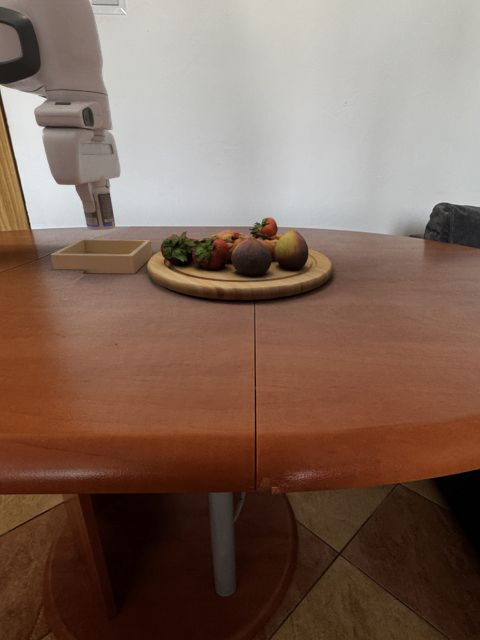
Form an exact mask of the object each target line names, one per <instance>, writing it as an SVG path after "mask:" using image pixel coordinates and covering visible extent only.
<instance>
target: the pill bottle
mask: <svg viewBox="0 0 480 640" xmlns="http://www.w3.org/2000/svg"><path fill="white" fill-rule="evenodd" d="M91 184H92V190H91V192H92V195H93V198H94V200H96V202H97V208H98V210H97V211H96V212H94V213H86V212H85V211H84V210H83V214H84V218H85V224H86V227H87V229H88V230H91V231H104V230H105V231H106V230H112V229H114V228H115V227H116V221H115V220H116V219H115V214H114V209H113V208H114V207H113V202H112V197H111V191H109V189H108V188H106V187H105V185H106V179H105V176H102V177H101V180H100V181H97V182H91Z"/></svg>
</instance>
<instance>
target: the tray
mask: <svg viewBox="0 0 480 640" xmlns="http://www.w3.org/2000/svg"><path fill="white" fill-rule="evenodd" d="M152 256H154V254H153V247H152V240H151V239H112V238H111V239H110V238H109V239H106V238H105V239H102V238H101V239H100V238H99V239H97V238H93V239H92V238H81V239H79V240H76V241H74V242H73V243H71V244H69V245H67V246H65V247H63V248H61V249H59V250H57V251H55V252H53V253H50V258H51V263H52V267H53V270H67V271H68V270H70V271H71V270H75V271H76V270H78V271H79V270H80V271H81V270H82V271H83V272H82V274H120V275H121V274H124V275H129V274H130V275H135V274H136V273H137V272H138V271H139V270H140V269H141V268H142V267H143V266H144V265H145V264H146V263H148V261H149V260H150V259H151V257H152Z"/></svg>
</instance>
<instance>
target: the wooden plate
mask: <svg viewBox="0 0 480 640" xmlns="http://www.w3.org/2000/svg"><path fill="white" fill-rule="evenodd" d="M252 225H253V227H252V228H248V230H249V231H250V233H249V235H247V234H245V233H242V232H240V231H235V230H232V229H225V230H222V231H219V232H218V233H214V234H212V235H210V236H208V237H204V238H201V239H197V238H190V237H188V236H187V233H188V230H186V231H183V232H182V233H181V234H180V235H178V234H174V233H173V234H171V236H168V237H166V238H165V239H163V241H162V243H161V244H160V251H159V252H156V253H155V254H153V256H152V257H151V258H150V259H149V260H148V261H147V264H146V270H147V274H148V276H149V277H150V278H151V279H152V280H153V281H154V283H156V284H158V285H159V286H161V287H163V288H166V289H168V290H170V291H173V292H177V293H180V294H184V295H188V296H192V297H198V298H204V299H205V298H206V299H214V300H228V301H230V300H231V301H232V300H233V301H234V300H235V301H236V300H237V301H254V300H255V301H256V300H268V299H278V298H284V297H289V296H293V295H299V294H302V293H305V292H309V291H312V290H314V289H316V288H319V287H321V286H322V285H324V284H325V283H326V282H327V281H328V280H329V279H330V278H331V276H332V274H333V270H334V266H333V263H332V262H331V260H330V259H329V257H327V256H326V255H324V254H323V253H321V252H319V251H317V250H314V249H312V248H309V246H308V242H307V241H306V240H305V238H304V237H303V236H302V234H300V233H299V232H298V231H297V230H295V229H294V228H292V229H289V230H288V231H286V233H278V231H279V228H278V224H277V221H276V220H275V219H274V218H273V217H264V218H263V219H262V221H261V223H260V222H257V221H255V223H253V224H252ZM250 235H251V236H250Z"/></svg>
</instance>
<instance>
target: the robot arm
mask: <svg viewBox="0 0 480 640" xmlns="http://www.w3.org/2000/svg"><path fill="white" fill-rule="evenodd" d="M103 67H104V59H103V52H102V46H101V41H100V36H99V30H98V25H97V20H96V17H95V13H94V10H93V7H92V3H91V1H90V0H0V86H2V87H4V88H6V89H7V88H8V89H12V90H15V91H19V92H23V93H27V94H32V95H36V96H39V97H41V98H44V99H45V100H44V101H43V102H42V103H41V104H40V105H38V106H36V107H35V108H34V109H33V114H34V119H35V123H36V125H37V126H38V127H41V128H42V130H41V138H42V143H43V149H44V152H45V156H46V160H47V164H48V168H49V171H50V174H51V176H52V178H53V180H54V181H55V183H56V184H57V185H59V186H74V187H75V191H76V193H77V196H78V197H79V199H80V201H81V204H82V209H83V212H84V211H85V212H86V213H94V212H96V211H97V210H98V208H97V202H96V200H94V198H93V195H92V192H91V190H92V184H91V182H97V181H100V180H101V177H102V176H105V179H106V185H105V187H106V188H108V189H109V191H110V190H111V182H110V180H111V179H117V178H120V177H121V164H120V158H119V153H118V148H117V144H116V140H115V136H114V134H113V133H112V132H110V131H113V129H114V127H113V119H112V114H111V113H112V112H111V106H110V99H109V93H108V90H107V87H106V85H105V82H104V77H103ZM110 192H111V191H110Z"/></svg>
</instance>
